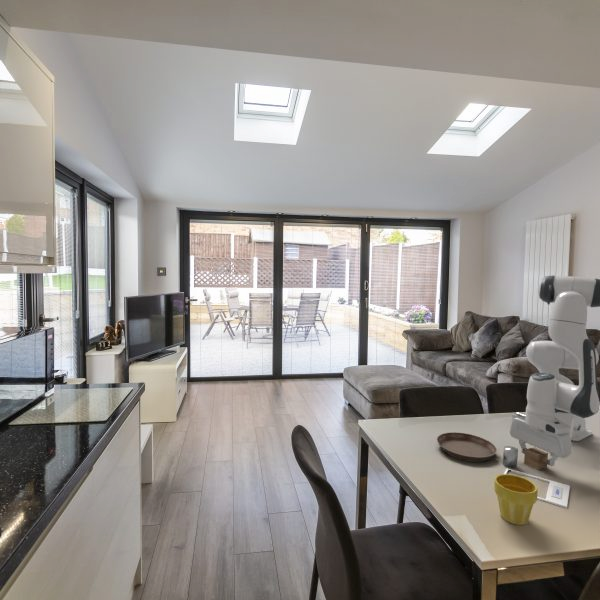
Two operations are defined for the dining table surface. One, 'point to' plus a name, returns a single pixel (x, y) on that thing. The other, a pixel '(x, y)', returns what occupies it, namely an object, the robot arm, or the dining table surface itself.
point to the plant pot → (515, 497)
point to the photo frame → (552, 491)
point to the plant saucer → (466, 446)
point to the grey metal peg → (510, 457)
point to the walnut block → (535, 458)
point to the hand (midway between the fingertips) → (537, 459)
